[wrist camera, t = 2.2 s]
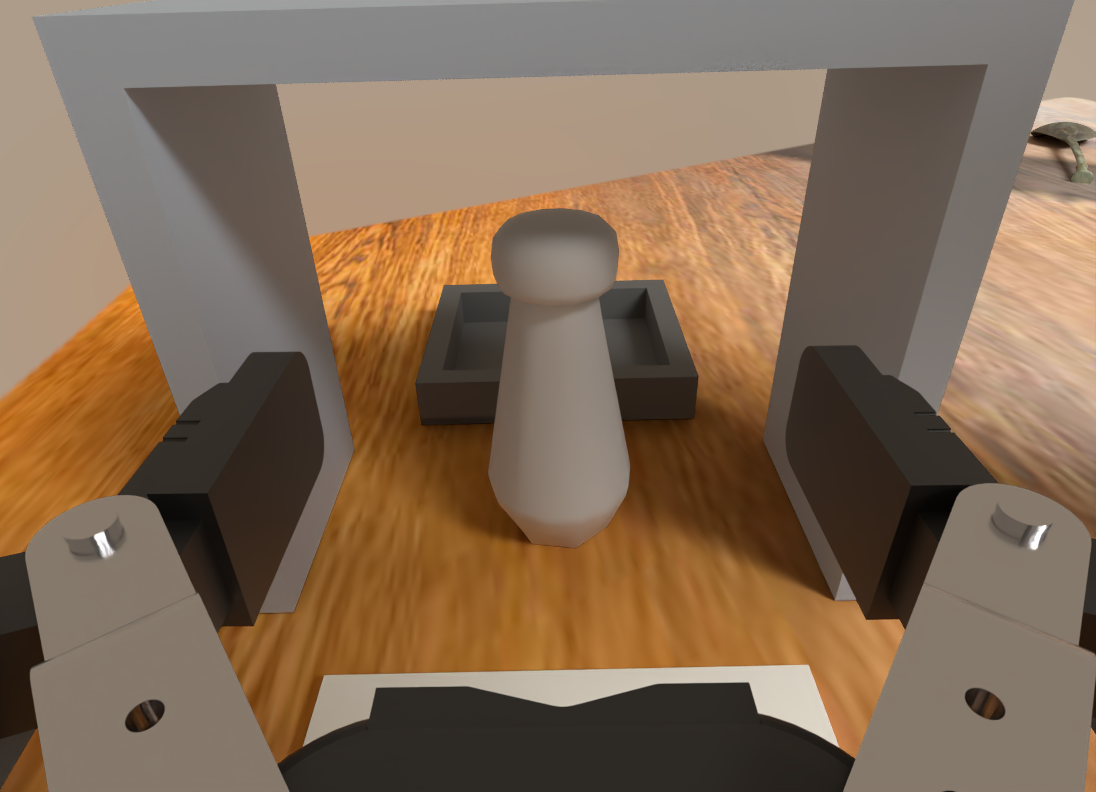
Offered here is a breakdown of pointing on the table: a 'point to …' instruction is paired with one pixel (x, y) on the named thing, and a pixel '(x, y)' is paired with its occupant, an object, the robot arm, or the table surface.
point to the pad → (580, 690)
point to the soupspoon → (1071, 144)
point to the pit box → (479, 338)
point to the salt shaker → (557, 379)
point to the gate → (546, 50)
